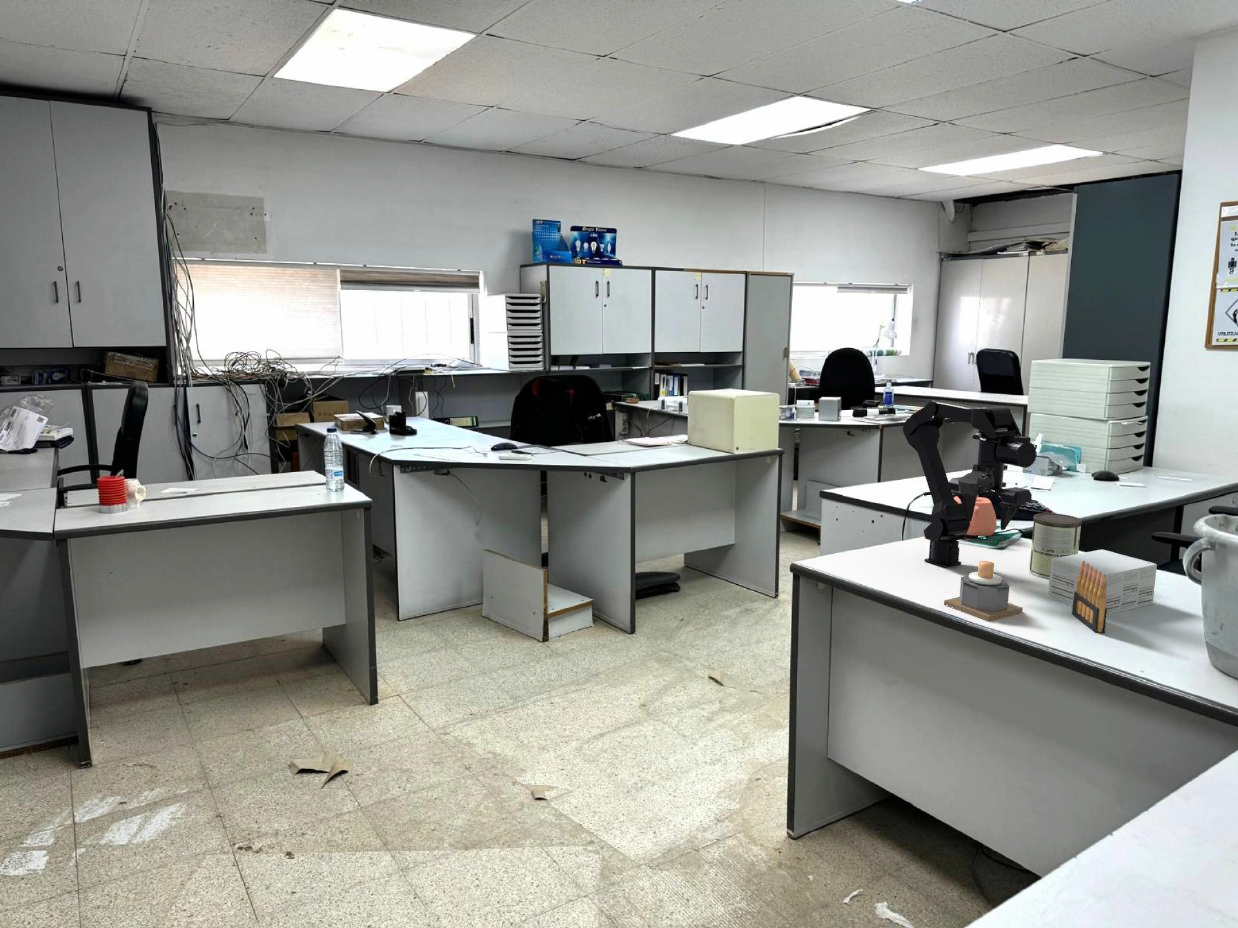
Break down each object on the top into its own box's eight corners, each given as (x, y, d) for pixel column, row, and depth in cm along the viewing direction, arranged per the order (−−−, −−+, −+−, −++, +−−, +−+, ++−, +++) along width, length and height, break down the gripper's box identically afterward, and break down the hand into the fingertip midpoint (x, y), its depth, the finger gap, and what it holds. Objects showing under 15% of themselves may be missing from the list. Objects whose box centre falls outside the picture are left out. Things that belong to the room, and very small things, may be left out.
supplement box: (1097, 587, 190) (1101, 548, 189) (1153, 605, 178) (1158, 563, 177) (1046, 597, 183) (1050, 556, 182) (1101, 616, 172) (1106, 573, 170)
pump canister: (943, 604, 178) (945, 578, 177) (977, 596, 183) (980, 570, 182) (987, 620, 168) (990, 593, 167) (1022, 612, 174) (1024, 584, 172)
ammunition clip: (1105, 633, 162) (1111, 575, 160) (1095, 633, 162) (1101, 574, 160) (1080, 614, 172) (1086, 559, 170) (1071, 613, 173) (1077, 559, 170)
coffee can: (1021, 567, 205) (1026, 512, 202) (1065, 568, 204) (1070, 513, 201) (1038, 580, 195) (1044, 522, 192) (1084, 581, 194) (1090, 523, 191)
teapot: (988, 527, 244) (992, 487, 242) (1000, 544, 225) (1004, 501, 223) (940, 524, 247) (943, 484, 245) (948, 541, 228) (951, 498, 226)
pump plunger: (960, 599, 177) (963, 561, 175) (980, 595, 180) (983, 557, 178) (986, 609, 171) (989, 569, 170) (1006, 604, 174) (1009, 564, 173)
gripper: (934, 457, 195) (929, 520, 198) (1003, 469, 179) (997, 539, 182) (966, 453, 200) (961, 515, 203) (1036, 465, 184) (1029, 532, 187)
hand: (985, 525), depth 194 cm, fingers open, 9 cm apart
